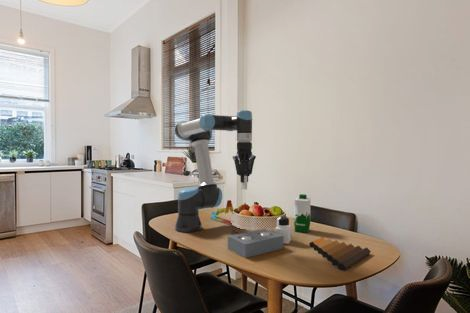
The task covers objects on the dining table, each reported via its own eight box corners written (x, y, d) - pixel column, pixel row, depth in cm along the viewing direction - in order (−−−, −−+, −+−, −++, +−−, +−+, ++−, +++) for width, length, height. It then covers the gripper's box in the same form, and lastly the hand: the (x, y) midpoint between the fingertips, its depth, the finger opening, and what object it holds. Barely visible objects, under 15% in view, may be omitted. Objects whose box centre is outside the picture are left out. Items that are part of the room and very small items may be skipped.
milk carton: (311, 229, 173) (311, 194, 172) (308, 233, 164) (309, 197, 164) (295, 227, 176) (296, 193, 175) (292, 231, 168) (293, 196, 167)
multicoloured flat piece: (210, 219, 197) (210, 196, 196) (214, 218, 199) (214, 196, 199) (240, 229, 174) (240, 203, 173) (244, 228, 176) (244, 203, 175)
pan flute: (345, 272, 115) (370, 255, 133) (345, 264, 115) (370, 248, 133) (290, 255, 133) (319, 242, 151) (291, 248, 133) (319, 236, 151)
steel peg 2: (257, 243, 144) (257, 233, 144) (265, 241, 147) (265, 231, 147) (264, 246, 140) (264, 235, 140) (272, 244, 143) (272, 234, 143)
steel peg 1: (238, 247, 138) (238, 237, 138) (247, 245, 141) (247, 235, 141) (244, 251, 134) (244, 240, 134) (253, 248, 137) (253, 238, 137)
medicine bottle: (291, 239, 154) (291, 216, 153) (288, 244, 147) (289, 219, 146) (277, 238, 156) (277, 215, 156) (274, 242, 149) (274, 218, 149)
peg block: (227, 248, 140) (227, 235, 140) (264, 240, 153) (264, 228, 152) (245, 258, 129) (245, 244, 129) (283, 248, 141) (283, 235, 141)
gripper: (237, 141, 143) (237, 191, 144) (259, 141, 150) (259, 188, 151) (229, 141, 149) (229, 189, 150) (250, 142, 157) (250, 187, 157)
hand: (244, 188), depth 151 cm, fingers closed
